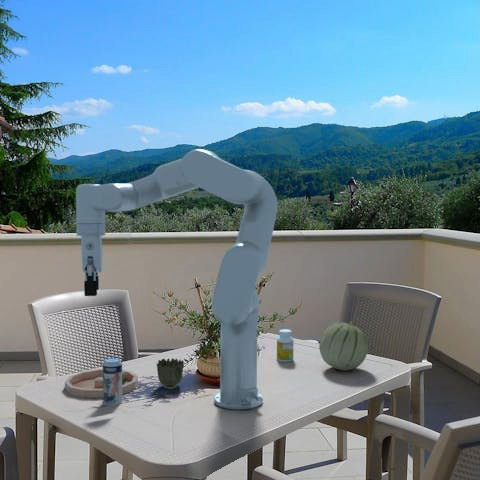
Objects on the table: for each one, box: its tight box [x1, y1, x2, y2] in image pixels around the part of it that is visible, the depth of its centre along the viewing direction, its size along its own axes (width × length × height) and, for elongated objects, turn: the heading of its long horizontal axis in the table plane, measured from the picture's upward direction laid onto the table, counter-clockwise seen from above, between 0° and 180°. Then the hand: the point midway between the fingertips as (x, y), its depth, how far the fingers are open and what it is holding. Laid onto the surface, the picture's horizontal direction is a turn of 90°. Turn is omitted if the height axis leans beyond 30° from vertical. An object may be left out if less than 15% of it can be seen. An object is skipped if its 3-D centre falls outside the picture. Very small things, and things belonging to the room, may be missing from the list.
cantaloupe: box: [318, 320, 369, 372], centre depth 187 cm, size 15×15×15 cm
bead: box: [122, 371, 127, 384], centre depth 170 cm, size 4×4×4 cm
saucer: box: [64, 368, 139, 399], centre depth 168 cm, size 19×19×3 cm
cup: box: [155, 357, 185, 390], centre depth 168 cm, size 8×7×8 cm
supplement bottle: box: [276, 328, 294, 363], centre depth 198 cm, size 5×5×10 cm
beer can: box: [102, 357, 123, 407], centre depth 155 cm, size 5×5×12 cm
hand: (91, 292), depth 165 cm, fingers open, 9 cm apart
